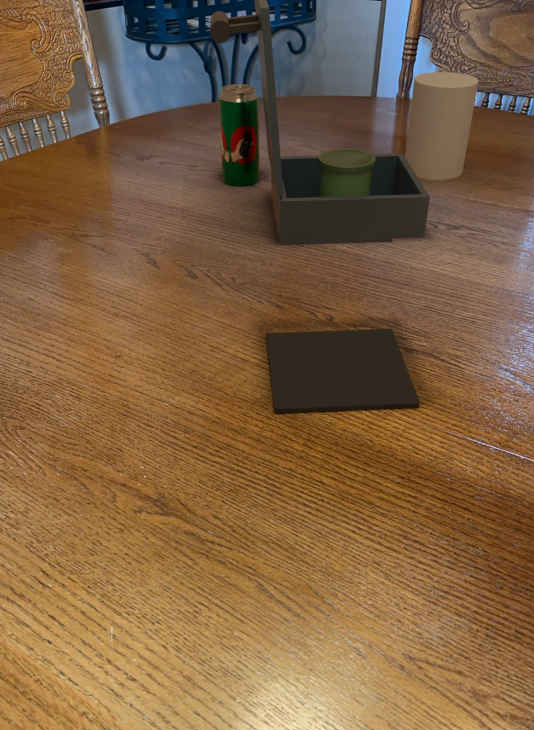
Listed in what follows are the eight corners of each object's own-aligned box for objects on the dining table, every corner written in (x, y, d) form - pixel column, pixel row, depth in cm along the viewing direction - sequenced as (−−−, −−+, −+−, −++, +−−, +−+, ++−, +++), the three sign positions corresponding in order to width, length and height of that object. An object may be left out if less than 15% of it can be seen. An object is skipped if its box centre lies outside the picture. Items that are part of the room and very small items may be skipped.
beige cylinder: (467, 169, 100) (484, 75, 92) (453, 188, 94) (470, 90, 86) (412, 162, 102) (423, 69, 94) (395, 180, 97) (406, 83, 89)
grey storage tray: (397, 199, 92) (402, 153, 88) (422, 247, 81) (430, 196, 77) (271, 203, 91) (271, 156, 87) (279, 251, 80) (280, 200, 76)
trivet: (391, 332, 67) (392, 328, 66) (419, 407, 58) (420, 402, 57) (266, 337, 66) (266, 332, 66) (274, 413, 57) (274, 408, 57)
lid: (260, -17, 75) (207, -10, 75) (269, 6, 64) (206, 14, 64) (274, 152, 87) (228, 158, 87) (283, 196, 76) (230, 202, 76)
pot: (365, 206, 88) (370, 147, 83) (374, 227, 83) (380, 166, 78) (313, 207, 88) (315, 149, 83) (319, 229, 83) (321, 168, 78)
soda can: (266, 183, 96) (266, 86, 88) (245, 195, 93) (242, 95, 85) (237, 176, 98) (233, 81, 90) (215, 187, 95) (210, 89, 87)
